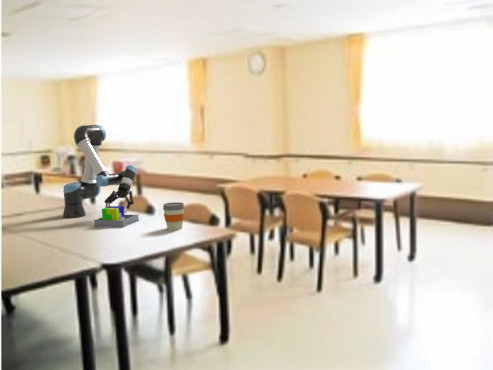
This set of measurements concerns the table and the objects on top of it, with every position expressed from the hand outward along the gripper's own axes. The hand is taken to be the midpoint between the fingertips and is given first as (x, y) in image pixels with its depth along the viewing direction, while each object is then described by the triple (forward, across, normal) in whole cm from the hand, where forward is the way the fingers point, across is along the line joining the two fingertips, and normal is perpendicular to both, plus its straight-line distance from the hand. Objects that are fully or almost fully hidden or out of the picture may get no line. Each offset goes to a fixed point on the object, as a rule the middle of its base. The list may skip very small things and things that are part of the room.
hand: (115, 212), depth 339 cm
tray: (+4, 0, -6) cm, 8 cm away
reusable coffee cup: (+12, -45, +1) cm, 47 cm away
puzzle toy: (+6, 0, -3) cm, 7 cm away
